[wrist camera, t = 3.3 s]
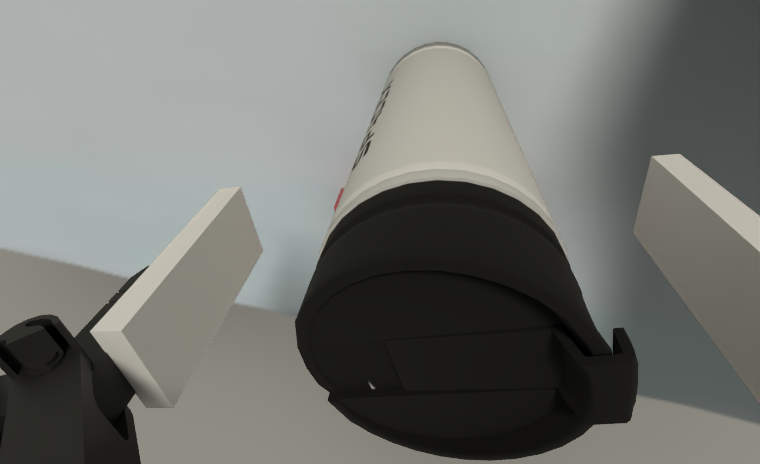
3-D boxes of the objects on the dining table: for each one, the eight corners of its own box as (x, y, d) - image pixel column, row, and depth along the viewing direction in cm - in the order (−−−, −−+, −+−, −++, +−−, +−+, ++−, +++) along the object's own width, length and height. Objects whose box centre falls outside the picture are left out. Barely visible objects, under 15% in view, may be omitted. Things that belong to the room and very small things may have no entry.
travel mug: (503, 134, 25) (638, 486, 8) (399, 158, 26) (339, 491, 10) (488, 24, 22) (659, 242, 5) (371, 59, 23) (214, 308, 7)
